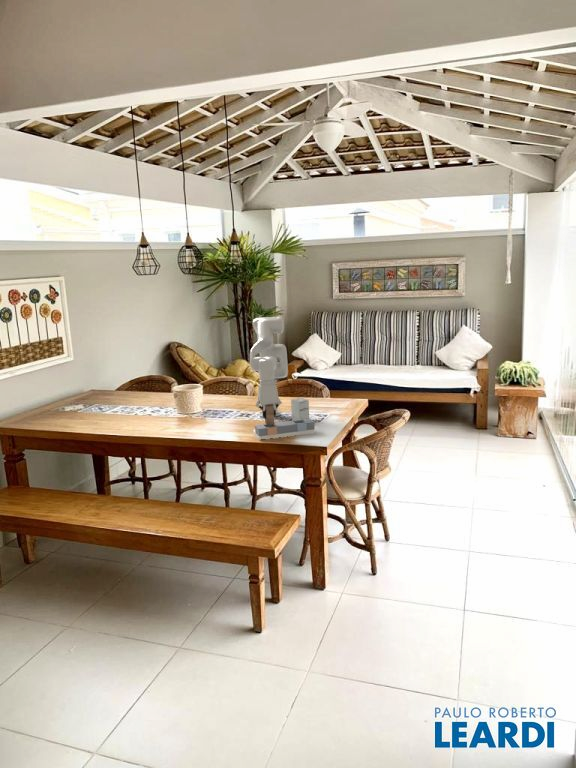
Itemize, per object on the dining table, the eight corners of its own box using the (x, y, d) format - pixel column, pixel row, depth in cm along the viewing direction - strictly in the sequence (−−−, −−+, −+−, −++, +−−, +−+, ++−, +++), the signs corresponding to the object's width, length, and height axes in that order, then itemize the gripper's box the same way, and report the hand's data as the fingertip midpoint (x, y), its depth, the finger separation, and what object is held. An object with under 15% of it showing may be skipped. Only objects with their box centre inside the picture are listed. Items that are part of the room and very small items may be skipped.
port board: (252, 433, 318) (252, 422, 317) (306, 426, 326) (305, 416, 325) (259, 440, 304) (258, 429, 303) (315, 433, 312) (314, 422, 311)
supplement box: (299, 423, 334) (298, 401, 331) (291, 421, 339) (290, 399, 337) (309, 421, 338) (308, 399, 335) (301, 418, 344) (300, 397, 341)
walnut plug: (265, 422, 310) (263, 404, 308) (272, 422, 311) (271, 403, 309) (267, 424, 306) (265, 405, 305) (274, 423, 308) (273, 404, 306)
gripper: (281, 379, 311) (282, 414, 314) (249, 383, 306) (252, 417, 310) (285, 382, 304) (287, 417, 307) (253, 385, 299) (255, 421, 303)
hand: (269, 417), depth 308 cm, fingers closed on walnut plug, 4 cm apart
